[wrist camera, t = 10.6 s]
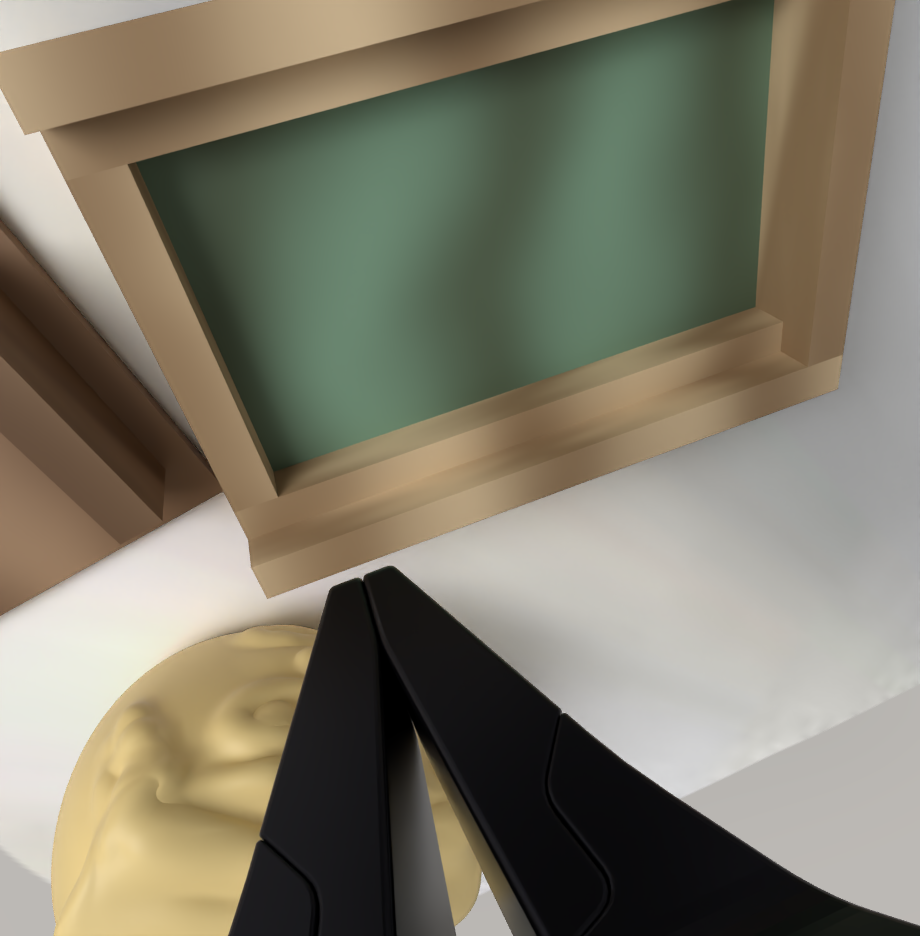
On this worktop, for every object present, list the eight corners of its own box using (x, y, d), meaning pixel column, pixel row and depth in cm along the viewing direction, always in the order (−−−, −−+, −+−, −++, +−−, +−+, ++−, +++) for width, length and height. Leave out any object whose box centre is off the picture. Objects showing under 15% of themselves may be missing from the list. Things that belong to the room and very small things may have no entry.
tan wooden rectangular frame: (795, -142, 17) (920, -173, 14) (761, 343, 24) (837, 389, 21) (25, 46, 14) (-17, 55, 11) (257, 521, 22) (267, 598, 19)
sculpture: (452, 595, 26) (577, 880, 18) (340, 801, 31) (397, 1106, 22) (121, 546, 21) (71, 920, 12) (45, 803, 26) (-29, 1207, 17)
